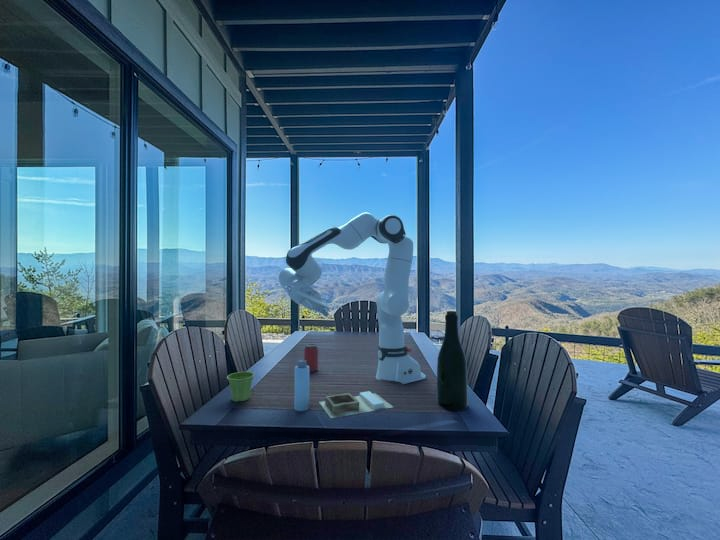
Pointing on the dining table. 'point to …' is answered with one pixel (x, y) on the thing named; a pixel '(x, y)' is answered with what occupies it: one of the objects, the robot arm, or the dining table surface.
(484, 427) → the dining table surface
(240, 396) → the plant pot
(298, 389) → the tapered blue cylinder
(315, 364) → the beer can
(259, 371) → the dining table surface
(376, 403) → the white rectangular bar
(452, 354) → the green wine bottle
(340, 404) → the jig
